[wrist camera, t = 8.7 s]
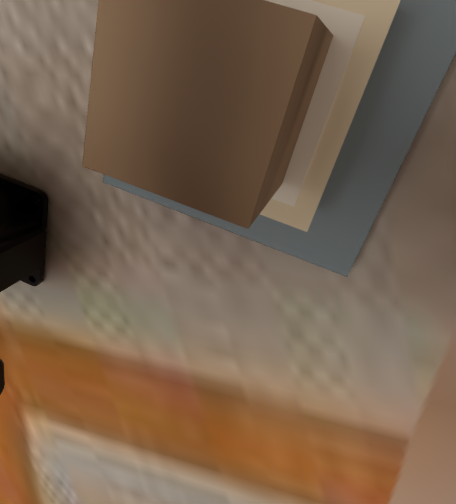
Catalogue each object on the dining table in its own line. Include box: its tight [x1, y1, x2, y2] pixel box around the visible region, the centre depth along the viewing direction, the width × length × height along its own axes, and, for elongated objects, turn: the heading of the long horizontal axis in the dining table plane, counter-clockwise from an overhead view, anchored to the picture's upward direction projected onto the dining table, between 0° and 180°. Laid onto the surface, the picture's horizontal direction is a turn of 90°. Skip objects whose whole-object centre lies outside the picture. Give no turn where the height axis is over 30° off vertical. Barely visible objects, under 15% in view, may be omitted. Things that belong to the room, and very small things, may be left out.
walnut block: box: [82, 0, 333, 229], centre depth 12 cm, size 5×5×5 cm
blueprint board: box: [103, 0, 456, 277], centre depth 16 cm, size 13×13×4 cm
